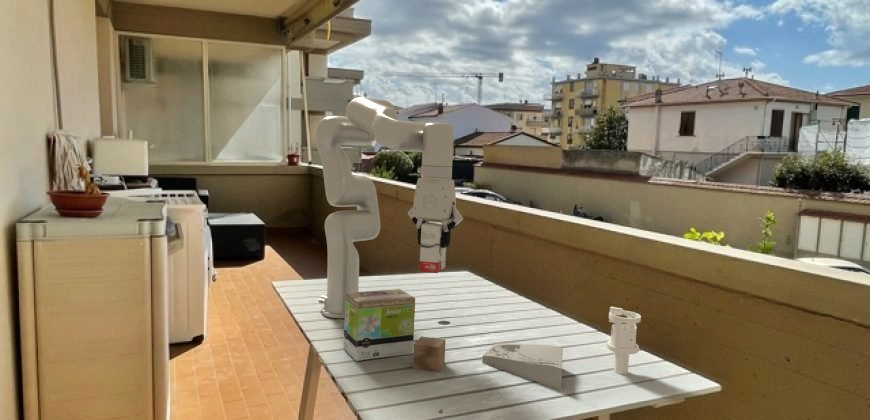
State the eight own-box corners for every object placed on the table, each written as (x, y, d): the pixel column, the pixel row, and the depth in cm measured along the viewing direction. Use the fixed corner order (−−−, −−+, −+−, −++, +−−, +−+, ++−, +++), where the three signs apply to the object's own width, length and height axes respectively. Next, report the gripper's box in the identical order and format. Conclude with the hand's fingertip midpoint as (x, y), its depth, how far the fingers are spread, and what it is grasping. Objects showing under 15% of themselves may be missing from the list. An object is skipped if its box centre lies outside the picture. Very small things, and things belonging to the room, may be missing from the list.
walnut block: (413, 369, 128) (413, 344, 128) (420, 360, 134) (421, 336, 134) (438, 372, 127) (439, 347, 126) (444, 363, 133) (445, 339, 132)
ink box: (437, 274, 135) (440, 226, 134) (418, 272, 137) (420, 224, 135) (446, 267, 144) (448, 222, 143) (427, 265, 145) (429, 220, 144)
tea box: (356, 363, 131) (357, 301, 130) (343, 349, 140) (344, 291, 138) (414, 354, 138) (416, 296, 137) (397, 342, 147) (399, 287, 145)
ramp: (466, 354, 141) (467, 333, 140) (517, 346, 148) (518, 326, 147) (534, 398, 116) (535, 373, 115) (592, 386, 123) (593, 362, 123)
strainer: (612, 363, 136) (616, 303, 135) (641, 371, 132) (645, 309, 130) (600, 371, 131) (604, 309, 129) (630, 380, 126) (634, 315, 125)
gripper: (399, 171, 138) (396, 243, 140) (461, 175, 130) (457, 251, 132) (414, 171, 145) (411, 239, 147) (474, 175, 137) (470, 247, 139)
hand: (433, 244), depth 139 cm, fingers closed on ink box, 5 cm apart
